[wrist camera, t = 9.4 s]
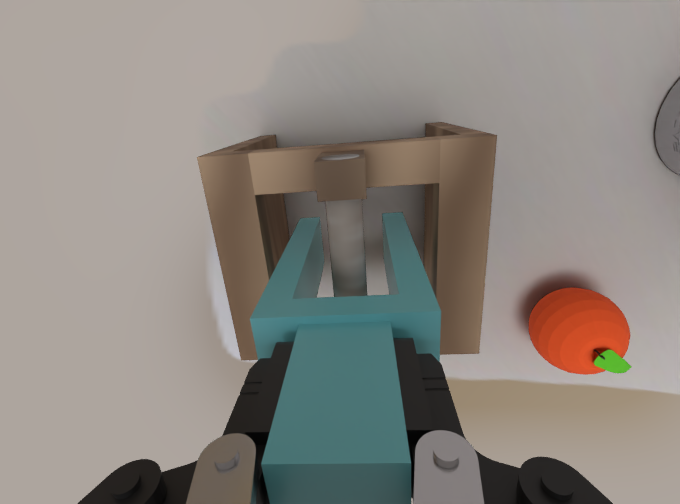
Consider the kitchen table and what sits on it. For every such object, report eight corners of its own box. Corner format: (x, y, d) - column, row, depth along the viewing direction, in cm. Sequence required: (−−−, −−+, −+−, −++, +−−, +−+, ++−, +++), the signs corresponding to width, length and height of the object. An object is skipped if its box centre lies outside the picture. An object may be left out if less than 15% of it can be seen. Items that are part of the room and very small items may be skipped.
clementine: (621, 302, 32) (688, 353, 26) (565, 356, 35) (613, 415, 28) (552, 259, 31) (604, 301, 25) (499, 318, 34) (533, 370, 27)
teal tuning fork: (402, 212, 22) (496, 450, 7) (402, 258, 23) (484, 548, 8) (300, 218, 22) (181, 454, 7) (305, 262, 23) (212, 546, 8)
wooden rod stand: (441, 122, 27) (525, 141, 14) (437, 266, 32) (497, 391, 18) (260, 136, 29) (166, 167, 15) (281, 273, 33) (224, 397, 19)
